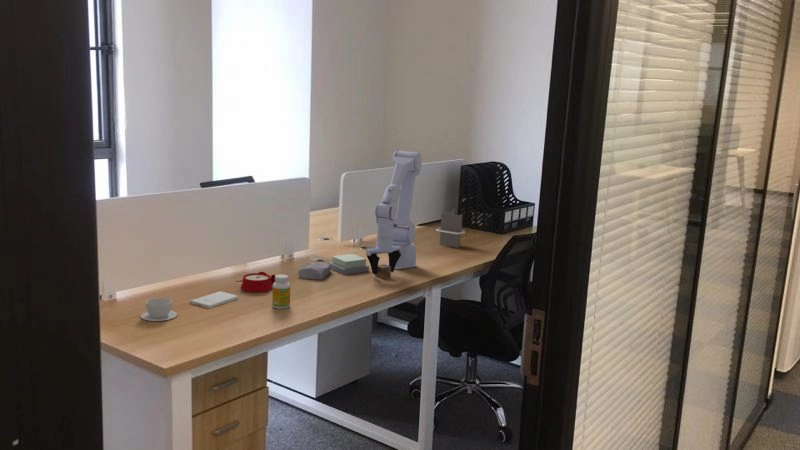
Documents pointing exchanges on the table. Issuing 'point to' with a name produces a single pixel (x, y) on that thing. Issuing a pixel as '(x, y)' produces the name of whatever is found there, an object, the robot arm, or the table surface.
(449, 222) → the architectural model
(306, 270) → the stone block
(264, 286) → the alarm clock
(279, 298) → the supplement bottle
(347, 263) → the green top slab
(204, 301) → the external hard drive
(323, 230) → the table surface
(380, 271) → the walnut cube
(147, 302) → the teacup
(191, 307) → the table surface
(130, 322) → the table surface
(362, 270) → the grey base slab
